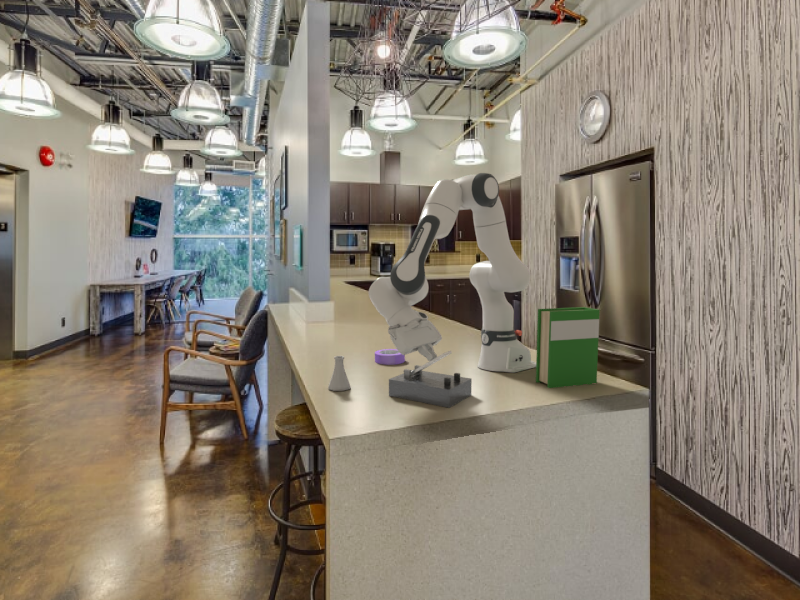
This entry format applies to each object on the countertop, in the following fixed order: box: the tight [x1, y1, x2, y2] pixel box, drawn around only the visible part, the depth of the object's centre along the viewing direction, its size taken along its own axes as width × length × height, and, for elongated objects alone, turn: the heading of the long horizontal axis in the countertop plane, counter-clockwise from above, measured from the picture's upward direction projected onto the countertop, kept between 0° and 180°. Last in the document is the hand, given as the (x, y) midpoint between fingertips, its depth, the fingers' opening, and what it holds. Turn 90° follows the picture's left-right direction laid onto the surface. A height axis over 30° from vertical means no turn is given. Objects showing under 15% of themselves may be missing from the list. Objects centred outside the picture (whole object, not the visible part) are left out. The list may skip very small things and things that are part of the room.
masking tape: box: [374, 348, 406, 366], centre depth 186 cm, size 12×12×4 cm
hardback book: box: [535, 306, 601, 389], centre depth 154 cm, size 18×7×24 cm, turn 107°
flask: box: [327, 355, 351, 392], centre depth 148 cm, size 7×7×10 cm
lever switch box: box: [388, 364, 472, 409], centre depth 141 cm, size 20×14×8 cm
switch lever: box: [411, 350, 452, 376], centre depth 140 cm, size 15×4×1 cm, turn 54°
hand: (433, 359), depth 139 cm, fingers closed, pressing on switch lever
